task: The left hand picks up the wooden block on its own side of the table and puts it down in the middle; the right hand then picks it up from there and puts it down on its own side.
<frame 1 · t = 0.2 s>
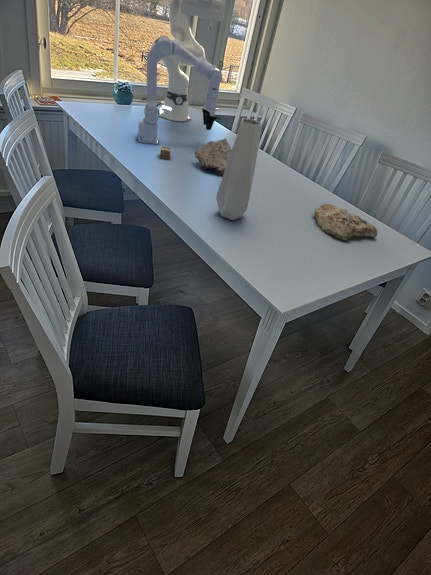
left hand: (207, 127, 186), 10 cm above the table, tool pointing down, fingers open, 7 cm apart
right hand: (199, 29, 173), 48 cm above the table, tool pointing down, fingers open, 8 cm apart
vase: (231, 215, 138), on the table
block: (164, 157, 171), on the table
stone: (336, 225, 147), on the table
rock: (213, 169, 170), on the table
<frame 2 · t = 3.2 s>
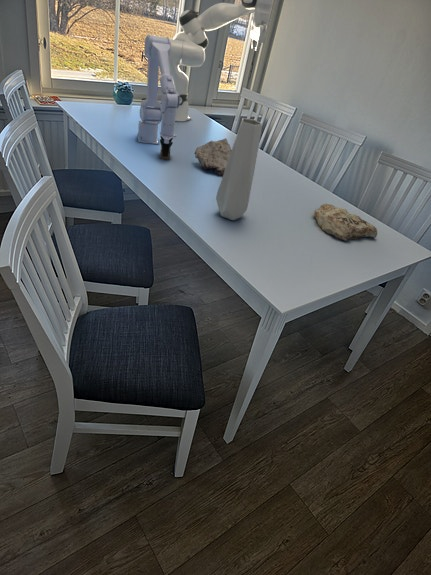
left hand: (165, 154, 170), 1 cm above the table, tool pointing down, fingers closed on block, 4 cm apart
right hand: (254, 50, 211), 41 cm above the table, tool pointing down, fingers open, 8 cm apart
block: (164, 157, 171), on the table, touching left hand
everything else where it was.
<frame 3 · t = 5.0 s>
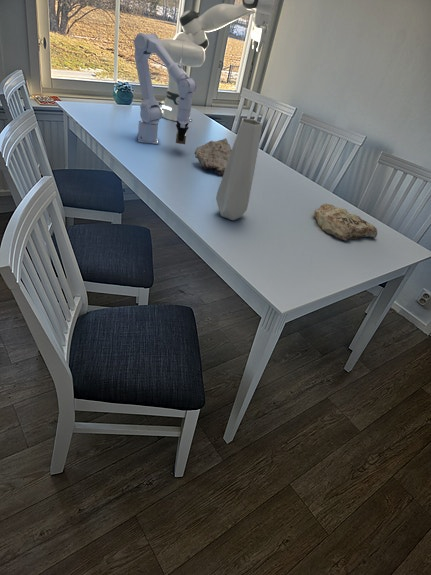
left hand: (180, 139, 176), 6 cm above the table, tool pointing down, fingers closed on block, 4 cm apart
right hand: (256, 50, 212), 41 cm above the table, tool pointing down, fingers open, 8 cm apart
block: (180, 142, 177), point 5 cm above the table, touching left hand
everything else where it was.
when the left hand's fingers open (2 cm above the table, at t = 7.0 s): block stays where it is, on the table.
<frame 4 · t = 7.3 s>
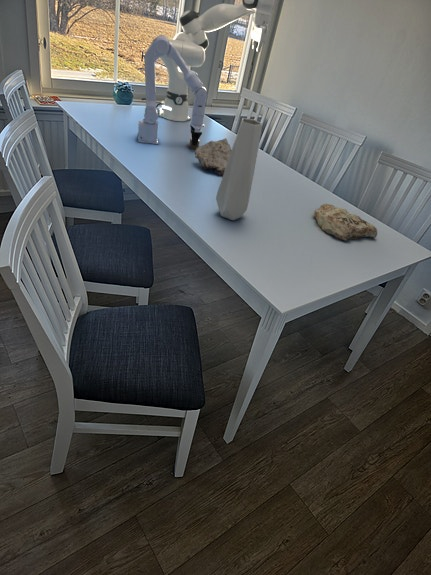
left hand: (194, 142, 188), 2 cm above the table, tool pointing down, fingers open, 7 cm apart
right hand: (256, 50, 212), 41 cm above the table, tool pointing down, fingers open, 8 cm apart
block: (193, 147, 189), on the table
everything else where it was.
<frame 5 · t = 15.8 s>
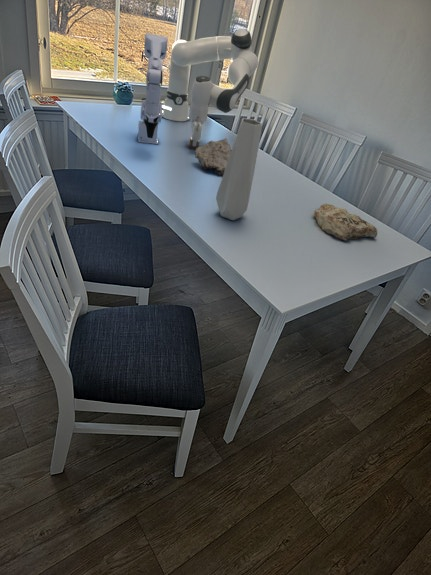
left hand: (150, 134, 165), 9 cm above the table, tool pointing down, fingers open, 7 cm apart
right hand: (193, 143, 188), 2 cm above the table, tool pointing down, fingers closed on block, 4 cm apart
block: (193, 147, 189), on the table, touching right hand
everything else where it was.
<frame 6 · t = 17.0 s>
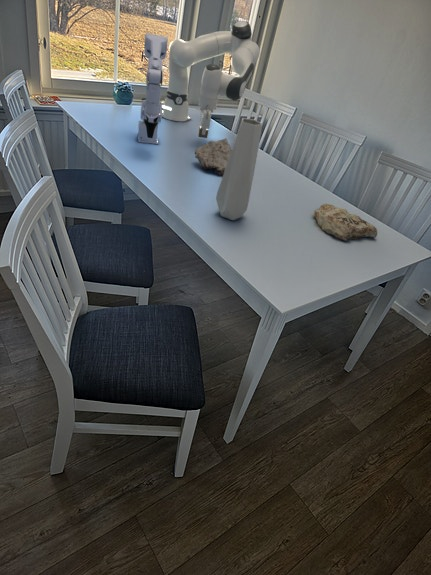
left hand: (150, 134, 165), 9 cm above the table, tool pointing down, fingers open, 7 cm apart
right hand: (203, 132, 189), 6 cm above the table, tool pointing down, fingers closed on block, 4 cm apart
block: (202, 136, 190), point 5 cm above the table, touching right hand
everything else where it was.
when the right hand's fingers open (2 cm above the table, at t = 18.4 s): block stays where it is, on the table.
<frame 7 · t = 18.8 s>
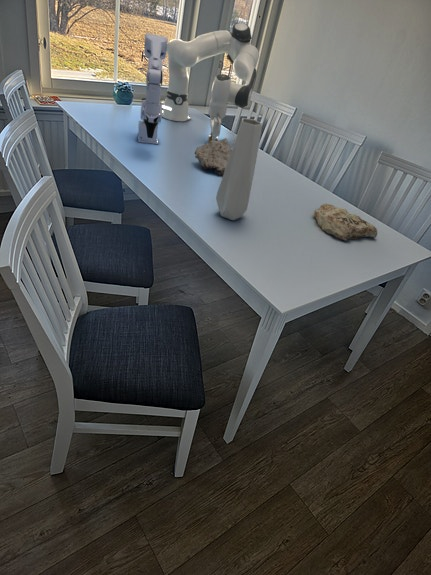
left hand: (150, 134, 165), 9 cm above the table, tool pointing down, fingers open, 7 cm apart
right hand: (212, 139, 196), 2 cm above the table, tool pointing down, fingers open, 8 cm apart
block: (211, 144, 198), on the table
everything else where it was.
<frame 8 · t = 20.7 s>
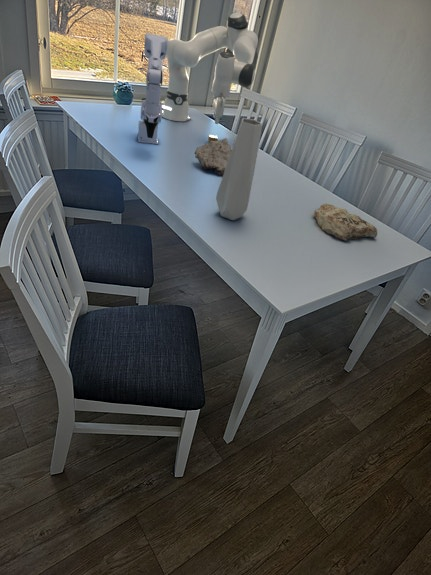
left hand: (150, 134, 165), 9 cm above the table, tool pointing down, fingers open, 7 cm apart
right hand: (215, 120, 191), 12 cm above the table, tool pointing down, fingers open, 8 cm apart
nothing on the table moved.
at the end: block inside the target area (0.1 cm from its centre), on the table; block tilted 0°; the two hands never held the block at the same time; the left hand is holding nothing; the right hand is holding nothing; block at rest at the end (0.0 cm/s) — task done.
